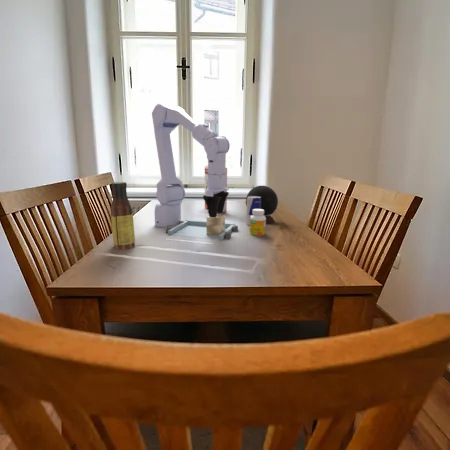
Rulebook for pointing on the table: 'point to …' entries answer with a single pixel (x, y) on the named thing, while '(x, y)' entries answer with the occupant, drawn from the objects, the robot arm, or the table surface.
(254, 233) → the supplement bottle
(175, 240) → the tailgate
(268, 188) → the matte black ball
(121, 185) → the sauce bottle
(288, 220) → the table surface
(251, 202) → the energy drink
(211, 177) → the robot arm
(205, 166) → the cracker box
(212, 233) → the light wooden block
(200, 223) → the truck bed
